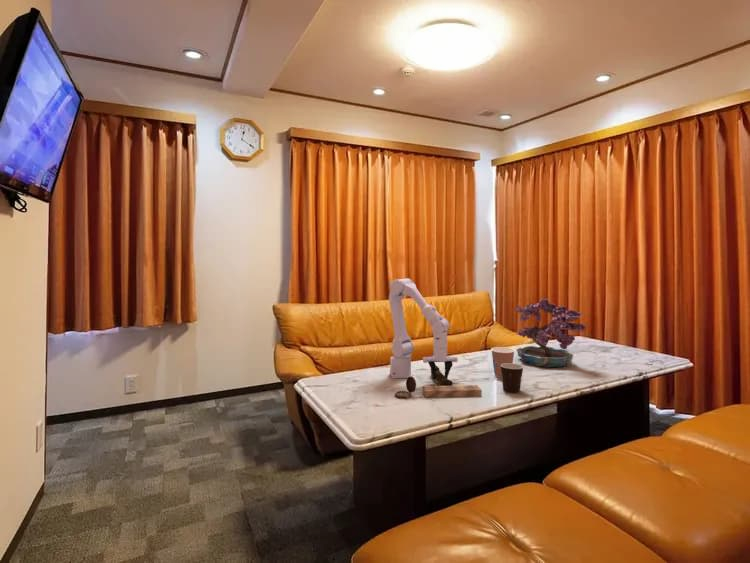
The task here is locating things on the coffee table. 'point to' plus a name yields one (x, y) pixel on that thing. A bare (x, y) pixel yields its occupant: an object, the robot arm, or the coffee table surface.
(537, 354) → the bonsai tree
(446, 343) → the robot arm
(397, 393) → the compass
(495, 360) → the coffee cup
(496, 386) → the coffee table surface
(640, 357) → the coffee table surface
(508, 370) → the coffee mug
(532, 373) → the coffee table surface
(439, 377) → the hand tool
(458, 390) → the light brown wooden board
